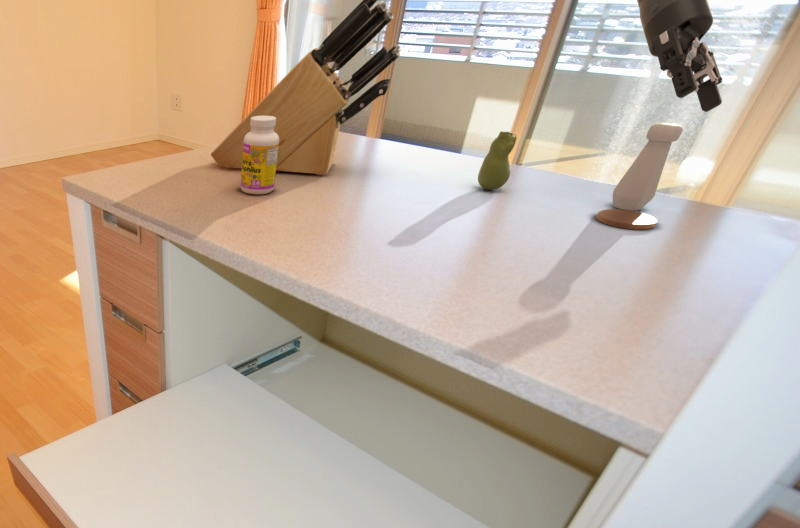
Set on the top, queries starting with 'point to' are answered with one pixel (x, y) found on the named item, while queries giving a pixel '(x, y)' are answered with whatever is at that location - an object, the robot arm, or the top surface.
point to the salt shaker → (646, 168)
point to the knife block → (318, 96)
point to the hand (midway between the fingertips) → (700, 101)
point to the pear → (497, 162)
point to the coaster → (626, 219)
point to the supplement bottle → (260, 156)
